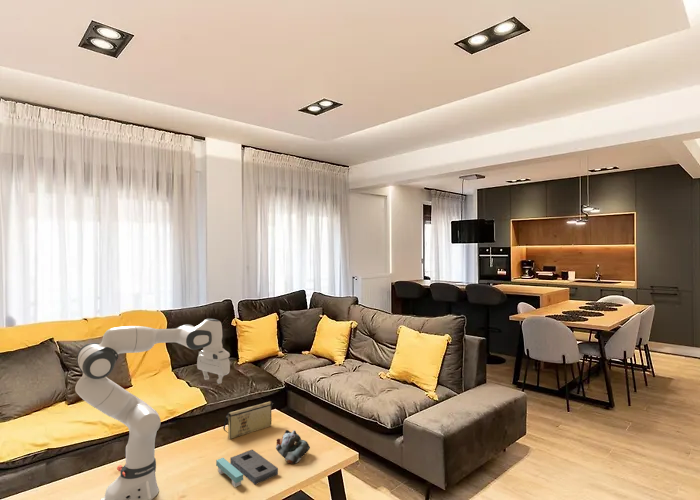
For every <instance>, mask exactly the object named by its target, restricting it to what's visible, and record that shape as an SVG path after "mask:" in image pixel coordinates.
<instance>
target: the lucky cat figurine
mask: <svg viewBox="0 0 700 500" xmlns="http://www.w3.org/2000/svg"><path fill="white" fill-rule="evenodd" d="M275 449H276V451H277V453H279V454H280V456H282V457H283V459H285V461H286V462H287V463H288V464H289V465H296V464H297V463H298V462H300V461H301V460H302V458H303V457H304V456H305V455H306V454H307V453H308V452H309V450H310V449H311V447H310V445H309V442H308V441H306V440H304V439H301V436H300V435H299V434H298V432H296V430H295V429H293V430H292V432H291V431H289V430H285V432H284V434H283V435H282V436H281V437H280V438H276V446H275Z"/></svg>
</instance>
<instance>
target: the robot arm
mask: <svg viewBox="0 0 700 500" xmlns="http://www.w3.org/2000/svg"><path fill="white" fill-rule="evenodd" d="M222 340H223V326H222V322H221V321H220V320H219V319H215V318H206V319H204V320H203V321H201V322H200V323H199V324H198V325H196V326H194V325H192V324H189V323H188V324H183V325H180V326H178V327H175V328H153V327H150V326H144V325H143V326H142V325H141V326H140V325H127V326H125V325H124V326H117V327H116V326H115V327H111V328H108V329H107V330H106V331H105V332H104V333H103V336H102V339H101V342H100V343H99V342H90V343H87V344H84V345H83V346H82V347H81V348H79V350H78V352H77V354H76V361H77V365H78V368H79V371H80V372H81V373H82V376H81V377H80V378H79V379H78V380H77V382H76V384H75V385H74V386H75V388H74V390H75V393H76V394H77V395H78V396H79V398H81V399H82V401H84V402H85V403H87V404H88V405H89V406H91V407H92V408H95V409H96V410H98V411H99V412H101V413H102V414H104V415H106V416H108V417H110V418H112V419H114V420H117V421H118V422H120V423H122V424H123V425H125V427H127V428H128V431H129V436H128V441H127V444H126V446H125V464H124V465H122V464H119V465H118V466H117V468H116V469H117V471H118V472H119V474H120V475H119V476H117V478H115V480H114V481H113V482H111V483H110V484H109V485H108V486H107V488H106V490H105V493H104V497H102V498H100V500H153V499H154V498H155V497H156V496H157V495H158V494H159V492H160V488H159V485H158V482H157V477H156V469H157V461H156V458H155V443H156V436H157V431H159V429H160V427H161V423H162V422H161V417H160V415H159V413H158V412H157V410H155V409H154V408H153V407H152V406H151V405H149V404H148V403H147V402H145V400H143V399H141V398H140V397H137V396H136V395H134V394H133V393H132V392H130V391H128V390H127V389H125V388H123V387H122V386H120V384H117V383H116V382H115V381H113V380H111V379H110V378H109V377H107V376H109V375H110V374H111V373H112V371H113V370H114V368H115V365H116V363H117V360H119V355H120V354H129V353H130V354H131V353H135V354H137V353H144V352H148V351H150V350H151V349H152V348H154V346H155V345H157V344H162V343H163V344H164V343H176V344H178V345H181V346H184V347H186V348H188V349H189V350H194V351H195V350H196V351H197V350H199V349H202V350H200V351H198V356H197V360H196V361H197V362H196V367H197V370H200V371H202V374H203V375H202V376H203V379H204V380H205V381H209V380H210V375H209V373H210V374H215V375H218V376H217V377H218V378H217V379H216V383H217V384H219V385H220V384H222V382H223V378H224V376H227V375H229V373H230V371H231V363H230V359H229V358H230V356H231V354H230V352H229V351H227V350H226V349H225V348H224V347H223V341H222Z"/></svg>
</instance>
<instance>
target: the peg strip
mask: <svg viewBox="0 0 700 500" xmlns="http://www.w3.org/2000/svg"><path fill="white" fill-rule="evenodd" d="M215 464H216V467H217V472H218V473H219V474H220V475H223V474H225V475H226V476H227V477H229V479H231V485H232V486H233V487H234V488H236V487H238V486H241V485H242V481H244V475H243V474H242V473H241V472H240V471H238V470H237V469H236V468H235V467H234V466H233V465H231V464H230V462H229V461H228V460H227V459H225V458H224V457H221V458H218V459H216V462H215Z"/></svg>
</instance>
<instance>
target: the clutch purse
mask: <svg viewBox="0 0 700 500" xmlns="http://www.w3.org/2000/svg"><path fill="white" fill-rule="evenodd" d="M273 404H274V403H273V402H272V401H271V400H269V401H266V402H263V403H259V404H256V405H252V406H248V407H244V408H241V409H237V410H235V411H230V412H227V415H226V416H225V420H224V422H223V431H224V432H226V433H227V434H228V440H232V439H234V438H238V437H241V436H244V435H246V434H250V433H253V432H256V431H257V432H258V431H259V430H263V429H266V428H269V427H271V426H272V406H273ZM226 424H227V426H228V428H227V429H228V430H226Z"/></svg>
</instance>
